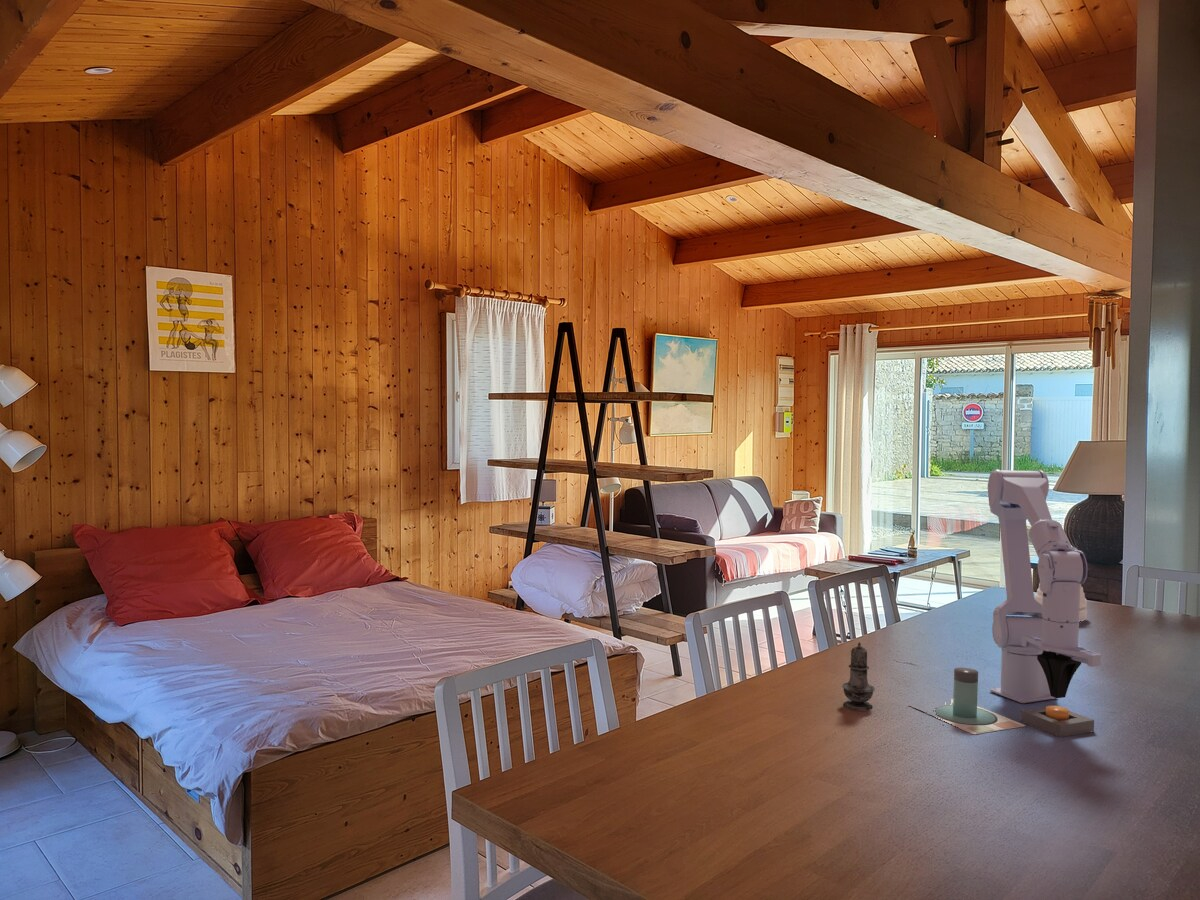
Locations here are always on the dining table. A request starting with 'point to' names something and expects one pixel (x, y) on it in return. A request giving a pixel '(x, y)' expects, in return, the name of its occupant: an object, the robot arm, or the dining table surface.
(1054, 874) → the dining table surface
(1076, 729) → the button housing
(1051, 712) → the button
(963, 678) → the green capped cylinder
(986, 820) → the dining table surface
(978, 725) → the picture sheet
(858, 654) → the salt shaker
